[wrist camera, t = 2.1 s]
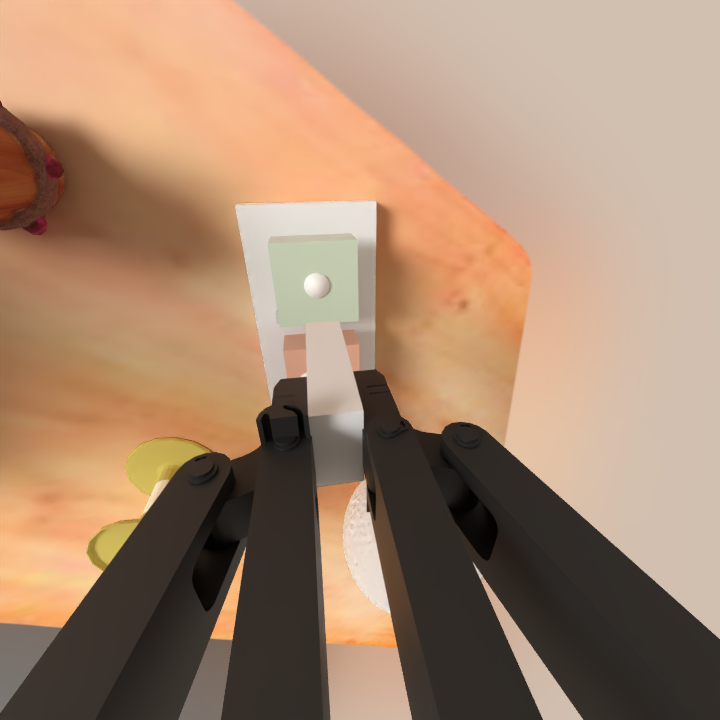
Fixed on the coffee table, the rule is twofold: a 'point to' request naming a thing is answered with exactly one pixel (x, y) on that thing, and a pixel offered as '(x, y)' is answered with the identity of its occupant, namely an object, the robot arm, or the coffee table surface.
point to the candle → (143, 489)
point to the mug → (26, 176)
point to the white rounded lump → (365, 549)
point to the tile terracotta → (297, 353)
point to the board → (306, 220)
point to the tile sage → (315, 278)
